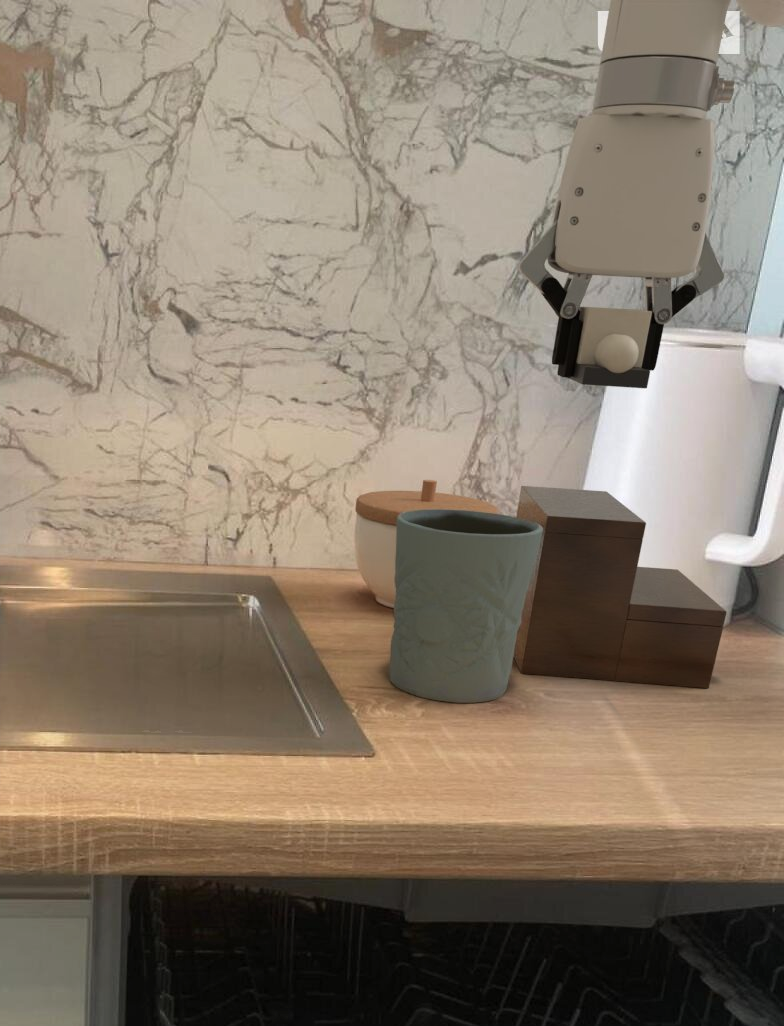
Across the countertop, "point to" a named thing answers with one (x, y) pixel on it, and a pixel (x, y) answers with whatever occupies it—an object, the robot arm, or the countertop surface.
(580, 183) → the robot arm
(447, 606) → the grey-green ceramic cup
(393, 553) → the lidded bowl
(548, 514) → the stepped wooden block
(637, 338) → the cream and grey block
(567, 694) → the countertop surface
